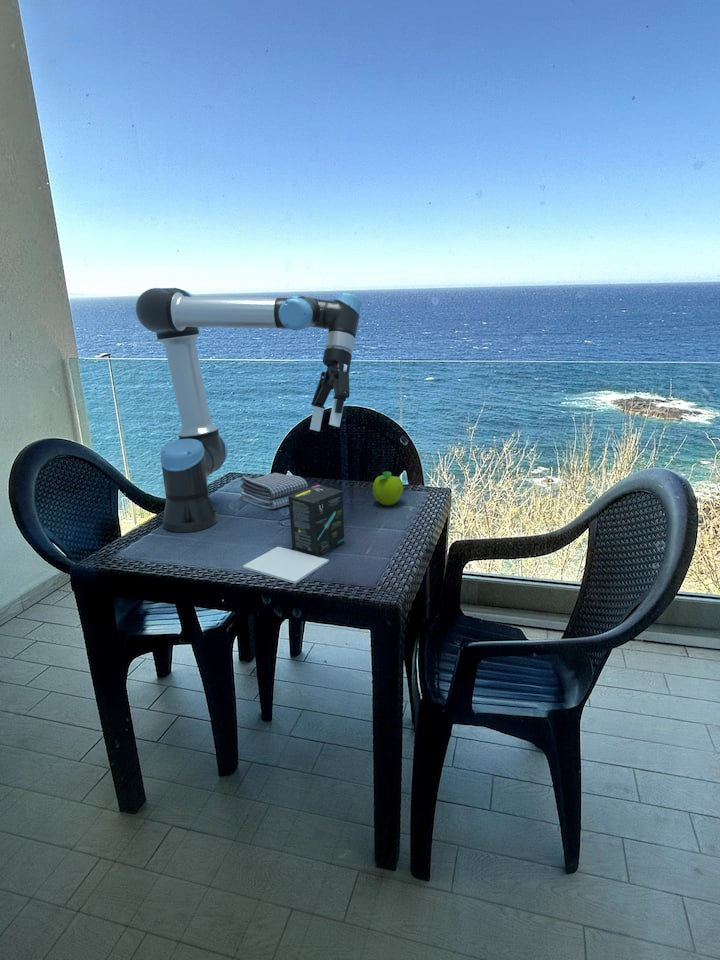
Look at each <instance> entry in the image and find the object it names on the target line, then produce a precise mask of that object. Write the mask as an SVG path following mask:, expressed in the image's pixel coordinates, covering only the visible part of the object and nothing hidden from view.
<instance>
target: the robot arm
mask: <svg viewBox="0 0 720 960" xmlns="http://www.w3.org/2000/svg"><path fill="white" fill-rule="evenodd" d="M361 307H362V301H361V299H360V298H359V297H358V296H356V295H355V294H352V293H348V292H343V293H341V292H339V293H337V294H336V295H335V296H334V299H333V300H329V299H328V300H327V299H326V300H325V299H320V298H315V297H314V298H313V297H309V296H304V295H291V296H290V297H251V296H248V297H243V296H240V297H239V296H237V297H236V296H235V297H234V296H194V295H193V294H191V293H190V292H189V291H187V290H185V289H181V288H177V287H163V288H162V287H161V288H160V287H151V288H149V289H147V290H145V291H144V292H143V293H141V294H140V295H139V297H138V298H137V301H136V303H135V315H136V317H137V320H138V321H139V323H140V324H141V325H142V326H143V327H144V328H145V329H146V330H148V331H150V332H153V333H155V334H156V338H157V341H158V342H159V343H160V344H162V345H163V346H164V348H165V354H166V359H167V362H168V363H167V365H168V368H169V372H170V376H171V381H172V386H173V391H174V395H175V400H176V404H177V408H178V409H177V410H178V414H179V419H180V424H181V429H180V431H179V432H178V434H177V435H178V439H177V440H175V441H170V442H168V443H166V444H164V445H163V447H162V448H161V450H160V465H161V471H162V478H163V487H164V493H165V506H164V509H163V510H164V512H163V516H162V526H163V528H164V529H165V528H166V529H167V530H166V529H165V530H166V531H168V530H170V531H169V532H172V531H174V532H173V533H191V532H198V531H202V530H204V529H205V530H206V529H207V528H211V527H212V526H213V525H215V524H216V523H217V521H218V512H217V510H216V509H215V505H214V504H213V502H212V500H211V499H212V498H211V497H210V495H209V488H208V486H209V485H208V477H209V476H210V475H212V474H213V473H214V472H216V471H218V470H219V469H220V468H221V467H222V466H223V465H224V464H225V462H226V460H227V457H228V453H229V451H228V450H229V449H228V445H227V442H226V441H225V439H224V438H223V437H222V436H221V435H220V432H219V428H218V426H217V425H215V424H214V423H213V422H212V420H211V419H212V418H211V414H210V407H209V403H208V400H207V399H208V398H207V393H206V389H205V383H204V379H203V373H202V368H201V364H200V358H199V354H198V350H197V349H198V348H197V345H196V341H197V339H198V338H199V336H200V331H199V328H229V329H232V328H234V329H242V328H243V329H244V328H245V329H283V330H287V329H288V330H292V331H300V330H304V329H306V328H311V327H312V328H319V329H324V330H328V331H327V333H326V334H327V335H326V341H325V344H324V347H325V350H324V351H323V358H322V363H323V365H324V366H326V367H327V369H326V371H321V374H320V378H319V380H318V384H317V386H316V389H315V391H314V395H313V398H312V401H311V406H313V410H312V416H311V420H310V426H309V430H310V431H315V432H320V431H321V427H322V421H323V415H324V411H325V409H326V408H325V404H326V402H327V400H328V398H329V394H330V393H331V391H332V390H333V391H334V395H333V402H332V405H331V412H330V416H329V422H328V425H329V426H333V427H336V428H340V426H341V420H342V417H343V411H344V405H345V402H346V400H347V399H349V398H350V369H351V362H352V357H353V356H352V353H353V352H354V351H353V350H354V348H355V347H356V344H355V340H356V337H357V336H356V335H357V331H358V325H359V322H360V321H359V320H360V318H361V315H360V313H361V309H362V308H361Z"/></svg>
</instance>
